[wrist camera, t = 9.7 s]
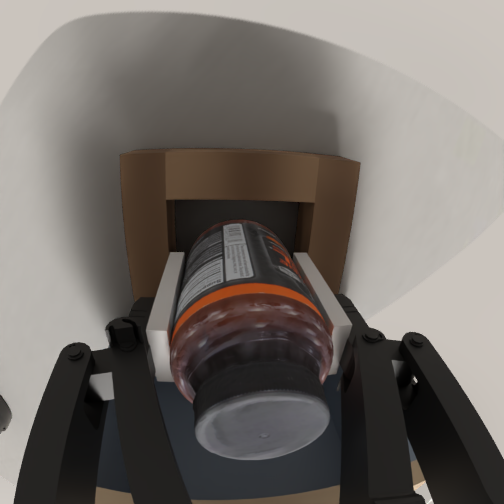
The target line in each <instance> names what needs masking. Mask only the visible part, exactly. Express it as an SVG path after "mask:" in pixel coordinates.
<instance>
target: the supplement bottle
mask: <svg viewBox="0 0 504 504" xmlns="http://www.w3.org/2000/svg"><path fill="white" fill-rule="evenodd" d="M333 351H334V350H333V342H332V336H331V334H330V332H329V329H328V327H327V325H326V323H325V321H324V319H323V317H322V315H321V313H320V312H319V309H318V306H317V304H316V303H315V301H314V300H313V298H312V295H311V293H310V292H309V290H308V288H307V286H306V285H305V283H304V281H303V279H302V277H301V276H300V274H299V272H298V270H297V268H296V265H295V264H294V262H293V260H292V259H291V257H290V255H289V253H288V250H287V249H286V247H285V246H284V244H283V243H282V241H281V240H280V239H279V238H278V237H277V236H276V234H274V233H273V232H272V231H271V230H270V229H268V228H267V227H265V226H263V225H261V224H259V223H256V222H254V221H251V220H244V219H238V220H228V221H224V222H220V223H217V224H216V225H214V226H212V227H210V228H208V229H207V230H206V231H204V232H203V233H202V234H201V235H200V236H199V237H198V238H197V240H196V241H195V243H194V244H193V246H192V248H191V250H190V253H189V255H188V259H187V262H186V267H185V271H184V276H183V280H182V286H181V290H180V296H179V301H178V305H177V311H176V317H175V321H174V327H173V335H172V341H171V347H170V370H171V374H172V377H173V380H174V382H175V384H176V386H177V388H178V390H179V391H180V392H181V393H182V395H183V396H184V397H185V398H186V399H187V400H188V401H190V402H191V403H192V404H193V411H194V430H195V436H196V438H197V440H198V442H199V443H200V444H201V445H202V446H203V447H204V448H205V449H207V450H208V451H210V452H211V453H215V454H217V455H219V456H222V457H227V458H232V459H238V460H263V459H270V458H275V457H279V456H283V455H286V454H288V453H291V452H294V451H296V450H299V449H301V448H303V447H305V446H307V445H308V444H310V443H311V442H313V441H314V440H316V439H317V438H318V437H319V436H320V435H321V434H322V433H323V432H324V431H325V429H326V428H327V426H328V424H329V420H330V410H329V406H328V403H327V400H326V397H325V394H324V387H323V385H322V384H323V383H324V381H325V379H326V377H327V375H328V374H329V371H330V369H331V365H332V362H333V355H334V354H333Z"/></svg>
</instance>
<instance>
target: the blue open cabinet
mask: <svg viewBox="0 0 504 504" xmlns="http://www.w3.org/2000/svg"><path fill="white" fill-rule="evenodd" d="M108 348H110V345H109V347H108ZM342 373H343V370H342V368H341V366H340V365H339V368H338V371H337V373H336V374H332V375H327V377H326V379H325V381H324V383H323V384H322V385H323V387H324V394H325V397H326V400H327V403H328V406H329V410H330V420H329V424H328V426H327V428H326V429H325V431H324V432H323V433H322V434H321V435H320V436H319V437H318V438H317V439H316V440H314V441H313V442H311V443H310V444H308V445H307V446H305V447H303V448H301V449H299V450H296V451H294V452H291V453H288V454H286V455H283V456H279V457H275V458H270V459H263V460H238V459H232V458H227V457H222V456H219V455H217V454H215V453H211V452H210V451H208V450H207V449H205V448H204V447H203V446H202V445H201V444H200V443H199V442H198V440H197V438H196V436H195V430H194V411H193V404H192V403H191V402H190V401H188V400H187V399H186V398H185V397H184V396H183V395H182V393H181V392H180V391H179V390H178V388H177V386H176V384H175V382H163V381H157V378H156V376H155V378H154V384H155V388H156V392H157V396H158V400H159V404H160V408H161V411H162V415H163V419H164V422H165V426H166V429H167V433H168V436H169V439H170V442H171V446H172V449H173V452H174V455H175V458H176V461H177V464H178V467H179V470H180V473H181V475H182V478H183V481H184V484H185V486H186V489H187V492H188V494H189V497H190V499H191V502H192V504H339V497H340V478H341V387H340V389H339V391H336V389H337V386H338V383H339V381H340V378H341V375H342ZM407 439H408V437H407ZM408 446H409V453H410V460H411V468H412V477H413V487H414V491H415V490H416V489H417V488H418V487H420V486H421V485H423V484H424V483H425V482H426V481H425V479H424V476H423V474H422V471H421V469H420V466H419V464H418V461H417V459H416V456H415V454H414V452H413V449H412V447H411V444H410V442H409V440H408ZM95 504H134V502H133V499H132V495H131V491H130V487H129V483H128V478H127V474H126V469H125V465H124V460H123V455H122V449H121V444H120V438H119V431H118V425H117V417H116V410H115V401H114V399H111V400H109V404H108V409H107V414H106V420H105V426H104V431H103V438H102V444H101V451H100V459H99V466H98V475H97V485H96V496H95Z"/></svg>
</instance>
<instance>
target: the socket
mask: <svg viewBox="0 0 504 504" xmlns="http://www.w3.org/2000/svg"><path fill="white" fill-rule="evenodd" d="M359 171H360V162H356V161H353V160H350V159H347V158H343V157H339V156H331V155H322V154H312V153H301V152H289V151H275V150H258V149H231V148H172V149H146V150H134V151H131V152H127V153H124V154H121V155H120V174H121V194H122V208H123V220H124V230H125V239H126V248H127V256H128V263H129V271H130V277H131V284H132V290H133V296H134V301H135V302H136V301H137V300H138V299H139V298H140V297H156V294H157V291H158V288H159V285H160V282H161V279H162V276H163V273H164V270H165V267H166V264H167V261H168V258H169V255H170V252H176V232H175V200H174V199H216V200H265V201H292V202H299V210H298V220H297V229H296V238H295V246H294V253H307V254H308V256H309V257H310V259H311V260H312V262H313V263H314V265H315V266H316V268H317V269H318V271H319V273H320V274H321V276H322V277H323V279H324V280H325V282H326V283H327V285H328V287H329V288H330V290H331V291H332V293H333V294H338V292H339V287H340V283H341V278H342V273H343V269H344V264H345V259H346V253H347V248H348V243H349V237H350V232H351V226H352V220H353V214H354V207H355V201H356V194H357V186H358V179H359Z"/></svg>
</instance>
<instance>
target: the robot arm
mask: <svg viewBox="0 0 504 504" xmlns="http://www.w3.org/2000/svg"><path fill="white" fill-rule="evenodd" d="M293 262H294V264H295V265H296V268H297V270H298V272H299V274H300V276H301V277H302V279H303V281H304V283H305V285H306V286H307V288H308V290H309V292H310V293H311V295H312V298H313V300H314V301H315V303H316V304H317V306H318V309H319V312H320V313H321V315H322V317H323V319H324V321H325V323H326V325H327V327H328V329H329V332H330V334H331V336H332V342H333V350H334V351H333V354H334V355H333V362H332V365H331V369H330V371H329V374H328V375H332V374H336V373H337V371H338V368H339V365H340V366H341V368H342V370H343V373H342V375H341V378H340V381H339V383H338V386H337V389H336V391H339V389H340V387H341V478H340V497H339V504H426V503H425V499H424V498H423V497H422V495H419V494H416V493H415V491H414V487H413V477H412V468H411V460H410V453H409V446H408V440H409V442H410V444H411V447H412V449H413V452H414V454H415V456H416V459H417V461H418V464H419V466H420V469H421V471H422V474H423V476H424V479H425V481H426V484H427V486H428V489H429V492H430V494H431V497H432V500H433V502H434V504H504V459H503V457H502V455H501V453H500V452H499V450H498V448H497V446H496V444H495V442H494V440H493V439H492V437H491V435H490V433H489V432H488V430H487V428H486V427H485V425H484V423H483V421H482V420H481V418H480V416H479V415H478V413H477V411H476V410H475V408H474V406H473V405H472V403H471V402H470V400H469V398H468V397H467V395H466V394H465V392H464V391H463V389H462V388H461V386H460V385H459V383H458V381H457V380H456V379H455V377H454V376H453V374H452V373H451V371H450V370H449V368H448V367H447V365H446V364H445V362H444V361H443V360H442V358H441V357H440V355H439V354H438V352H437V351H436V350H435V348H434V347H433V346H432V344H431V343H430V341H429V340H428V339H427V338H426V337H425V336H423V335H422V334H419V333H416V332H409V333H406V334H405V335H404V336H403V338H402V341H396V340H388V339H386V338H385V336H384V334H383V333H381V332H380V331H378V330H376V329H373V328H369V327H368V325H367V323H366V322H365V321H364V319H363V318H362V316H361V315H360V313H359V312H358V310H357V309H356V307H354V304H353V303H352V301H351V300H350V299H349V298H347V297H346V296H345V295H343V294H333V293H332V291H331V290H330V288H329V287H328V285H327V283H326V282H325V280H324V279H323V277H322V276H321V274H320V273H319V271H318V269H317V268H316V266H315V265H314V263H313V262H312V260H311V259H310V257H309V256H308V254H307V253H293ZM184 271H185V258H184V252H170V255H169V258H168V261H167V264H166V267H165V270H164V273H163V276H162V279H161V282H160V285H159V288H158V291H157V294H156V297H140V298H139V299H138V300H137V301H136V302H135V303H134V304H133V307H132V309H131V312H130V314H129V317H120V318H117V319H114V320H112V321H111V322H109V324H108V325H107V326H106V329H105V331H106V335H107V338H108V342H109V345H110V348H107V349H103V350H97V351H91V349H90V347H89V346H88V345H86V344H85V343H80V342H78V343H72V344H69V345H67V346H66V347H65V348H63V350H62V351H61V353H60V355H59V357H58V359H57V362H56V364H55V366H54V369H53V371H52V374H51V376H50V379H49V381H48V384H47V386H46V389H45V391H44V394H43V397H42V400H41V402H40V405H39V408H38V411H37V414H36V417H35V420H34V423H33V426H32V429H31V432H30V435H29V439H28V442H27V446H26V449H25V453H24V457H23V461H22V465H21V469H20V473H19V478H18V482H17V487H16V493H15V498H14V504H95V496H96V485H97V475H98V466H99V459H100V451H101V444H102V438H103V431H104V426H105V420H106V414H107V409H108V404H109V400H111V399H114V401H115V410H116V417H117V425H118V431H119V438H120V444H121V449H122V455H123V460H124V465H125V469H126V474H127V478H128V483H129V487H130V491H131V495H132V499H133V502H134V504H192V502H191V499H190V497H189V494H188V492H187V489H186V486H185V484H184V481H183V478H182V475H181V473H180V470H179V467H178V464H177V461H176V458H175V455H174V452H173V449H172V446H171V442H170V439H169V436H168V433H167V429H166V426H165V422H164V419H163V415H162V411H161V408H160V404H159V400H158V396H157V392H156V388H155V384H154V378H155V374H156V378H157V381H163V382H174V380H173V377H172V374H171V370H170V347H171V341H172V335H173V327H174V321H175V317H176V311H177V305H178V301H179V296H180V290H181V286H182V280H183V276H184ZM414 377H416V379H417V381H418V382H417V383H416V382H415V381H414V379H413V378H414ZM11 419H12V414H11V411H10V409H9V408H8V406H7V404H6V403H5V402H4V400H3V399H2V398H1V396H0V434H1V432H2V431H5V430H6V429H7V428H8V426H9V423H10V421H11ZM407 437H408V439H407Z"/></svg>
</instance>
